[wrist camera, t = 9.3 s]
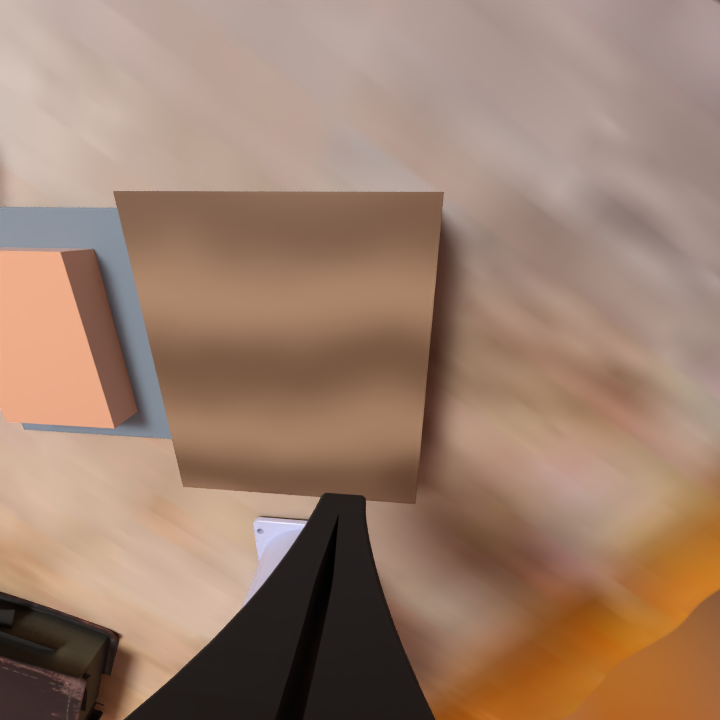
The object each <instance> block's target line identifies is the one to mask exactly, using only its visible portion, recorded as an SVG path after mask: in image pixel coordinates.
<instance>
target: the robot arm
mask: <svg viewBox="0 0 720 720" xmlns="http://www.w3.org/2000/svg"><path fill="white" fill-rule="evenodd" d="M253 527H254V533H255V540H256V547H257V554H258V561H259V564H258V566H257V569H256V572H255V574H254V577H253V579H252V582H251V584H250V587H249V589H248V592H247V594H246V597H245V600H244V602H243V605H242V607H241V610H240V611H239V612H238V613H237V614H236V615H235V617H234V618H233V619H232V620H231V621H230V622H229V623H228V624H227V625H226V626H225V627H224V628H223V629H222V630H221V631H220V632H219V634H218V635H217V636H216V637H215V638H214V639H213V640H212V641H211V642H210V643H209V644H208V645H207V646H205V647H204V648H203V649H202V650H201V651H200V652H199V653H198V654H197V655H196V656H195V657H194V658H193V659H192V660H191V661H190V662H189V663H188V664H186V665H185V666H184V667H183V668H182V669H181V670H180V671H179V672H178V673H177V674H176V675H175V676H174V677H173V678H172V679H170V680H169V681H168V682H167V683H166V684H165V685H164V686H163V687H161V688H160V689H159V690H158V691H157V692H156V693H154V694H153V695H152V696H151V697H150V698H148V699H147V700H146V701H145V702H144V703H143V704H141V705H140V706H139V707H138V708H137V709H136V710H134V711H133V712H132V713H131V714H130V715H128V716H127V717H126V718H125V719H124V720H435V718H434V716H433V713H432V711H431V709H430V707H429V705H428V703H427V701H426V699H425V697H424V694H423V692H422V690H421V688H420V686H419V683H418V681H417V679H416V676H415V674H414V672H413V669H412V667H411V665H410V662H409V660H408V658H407V655H406V653H405V651H404V648H403V646H402V643H401V641H400V638H399V636H398V633H397V630H396V628H395V625H394V622H393V620H392V617H391V614H390V611H389V608H388V605H387V602H386V599H385V596H384V593H383V590H382V587H381V583H380V580H379V576H378V573H377V569H376V566H375V562H374V558H373V553H372V549H371V544H370V540H369V534H368V528H367V521H366V498H365V497H364V496H363V495H351V494H337V493H324V494H323V495H322V496H321V498H320V500H319V502H318V504H317V506H316V508H315V510H314V511H313V513H312V515H311V517H310V518H309V520H308V521H304V520H291V519H279V518H266V517H258V518H256V519H255V521H254V523H253Z"/></svg>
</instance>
